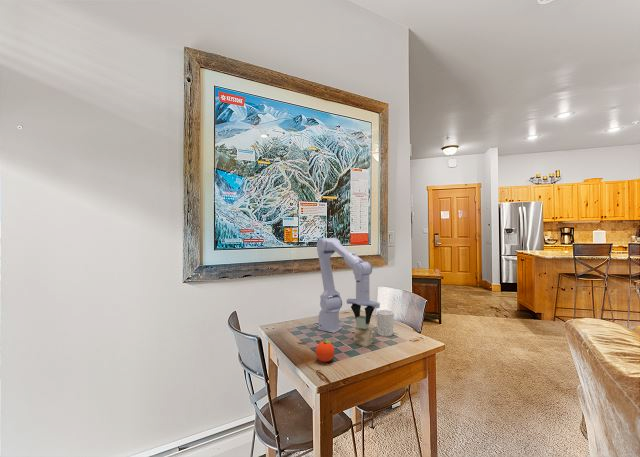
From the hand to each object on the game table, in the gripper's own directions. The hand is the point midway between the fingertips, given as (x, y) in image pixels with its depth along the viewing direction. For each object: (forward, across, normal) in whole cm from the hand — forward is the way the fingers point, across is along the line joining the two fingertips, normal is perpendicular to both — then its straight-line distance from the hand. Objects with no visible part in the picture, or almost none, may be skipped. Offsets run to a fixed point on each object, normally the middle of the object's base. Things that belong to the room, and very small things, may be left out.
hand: (362, 322), depth 125 cm
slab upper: (+6, 0, 0) cm, 6 cm away
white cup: (+9, +4, +15) cm, 18 cm away
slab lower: (+9, 0, 0) cm, 9 cm away
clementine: (+9, -4, -23) cm, 25 cm away
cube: (+2, 0, 0) cm, 2 cm away
